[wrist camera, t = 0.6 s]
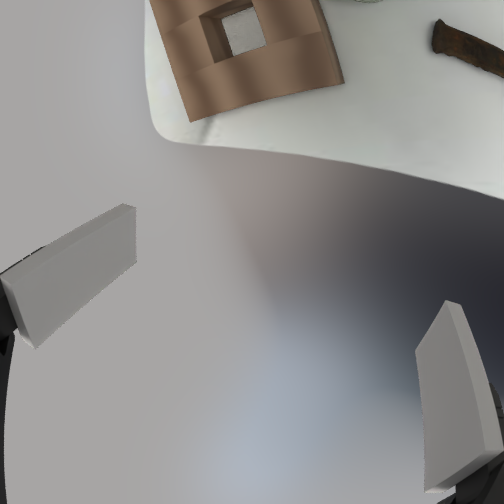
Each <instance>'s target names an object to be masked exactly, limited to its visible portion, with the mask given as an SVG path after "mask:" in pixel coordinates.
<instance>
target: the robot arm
mask: <svg viewBox="0 0 504 504" xmlns="http://www.w3.org/2000/svg"><path fill="white" fill-rule="evenodd" d="M136 262H137V260H136V207H133V206H129V205H126V204H121V205H119V206H117V207H115V208H113V209H111V210H109V211H107V212H105V213H103V214H102V215H100V216H98V217H96V218H94V219H92V220H90V221H89V222H87V223H85V224H83V225H81V226H80V227H78V228H76V229H74V230H72V231H71V232H69V233H67V234H65V235H64V236H62V237H60V238H59V239H57V240H55V241H53V242H52V243H50V244H48V245H47V246H44V247H41V248H39V249H38V250H36V251H35V252H33V253H31V255H28V256H26V257H25V258H23V260H20V261H18V262H17V263H16V264H14V265H12V266H11V267H9V268H8V269H6V270H5V271H3V272H2V273H0V504H7V499H6V489H5V476H4V475H5V474H4V422H5V421H4V420H5V407H6V395H7V386H8V378H9V370H10V364H11V358H12V352H13V347H14V341H15V335H14V333H13V331H14V330H15V329H17V328H18V330H19V332H20V335H21V337H22V339H23V341H25V342H26V343H27V344H28V345H30V346H31V347H32V348H33V349H36V348H38V346H39V345H41V344H42V343H43V342H44V341H45V340H46V339H47V338H48V337H49V336H51V335H52V334H53V333H54V332H55V331H56V330H57V329H58V328H59V327H61V326H62V325H63V324H64V323H65V322H66V321H67V320H68V319H70V318H71V317H72V316H73V315H74V314H75V313H76V312H77V311H79V310H80V309H81V308H82V307H83V306H84V305H85V304H87V303H88V302H89V301H90V300H91V299H93V298H94V297H95V296H96V295H97V294H98V293H100V292H101V291H102V290H103V289H104V288H106V287H107V286H108V285H109V284H110V283H112V282H113V281H114V280H115V279H116V278H118V277H119V276H120V275H121V274H123V273H124V272H125V271H126V270H127V269H129V268H130V267H131V266H133V265H134V264H135V263H136ZM415 353H416V359H417V367H418V374H419V383H420V392H421V403H422V414H423V430H424V454H425V455H424V459H425V480H424V482H425V483H424V493H443V492H445V491H446V490H448V489H450V488H451V487H453V486H455V485H456V493H454V494H453V495H451V496H449V497H447V498H446V499H444V500H442V501H440V502H438V503H437V504H504V414H503V410H502V409H501V408H502V405H501V402H500V398H499V395H498V393H497V391H496V390H495V388H494V386H493V385H492V384H491V383H488V380H487V376H486V373H485V370H484V367H483V364H482V361H481V358H480V354H479V352H478V349H477V346H476V343H475V340H474V338H473V335H472V332H471V330H470V327H469V325H468V322H467V320H466V317H465V315H464V312H463V310H462V308H461V305H459V304H456V303H453V302H450V301H447V300H446V301H445V302H444V304H443V306H442V308H441V310H440V311H439V313H438V315H437V317H436V318H435V320H434V322H433V323H432V325H431V326H430V328H429V330H428V331H427V333H426V335H425V336H424V338H423V339H422V341H421V343H420V344H419V346H418V347H417V349H416V350H415Z"/></svg>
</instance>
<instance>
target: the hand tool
mask: <svg viewBox="0 0 504 504" xmlns="http://www.w3.org/2000/svg"><path fill="white" fill-rule="evenodd" d="M432 48H433V51H434V53H436V54H438V53H445V54H446V55H448V56H455V57H457V58H459V59H461V60H464V61H465V62H467V63H471V64H473V65H474V66H476V67H481V68H482V69H483V70H485V71H489V72H492V73H494V74H496V75H498V76H501V77H503V78H504V51H503V50H501V49H500V48H498V47H496V46H494V45H492V44H490V43H488V42H485V41H483V40H481V39H479V38H477V37H475V36H472V35H470V34H468V33H465V32H463V31H460V30H457V29H455V28H452V27H450V26H448V25H446V24H445V23H444V22H443V21H442V20H441V19H439V20H438V21H437V22H436V24H435V27H434V31H433V37H432Z"/></svg>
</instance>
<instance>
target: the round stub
mask: <svg viewBox="0 0 504 504" xmlns="http://www.w3.org/2000/svg"><path fill="white" fill-rule="evenodd" d="M355 1H359V2H365V3H371V2H378V1H382V0H355Z"/></svg>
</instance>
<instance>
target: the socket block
mask: <svg viewBox="0 0 504 504" xmlns="http://www.w3.org/2000/svg"><path fill="white" fill-rule="evenodd" d="M149 1H150V4H151V7H152V10H153V13H154V16H155V19H156V22H157V25H158V28H159V32H160V35H161V38H162V41H163V44H164V47H165V50H166V53H167V56H168V59H169V62H170V65H171V68H172V71H173V74H174V77H175V80H176V83H177V86H178V89H179V92H180V95H181V98H182V100H183V103H184V106H185V109H186V112H187V115H188V118H189V121H190V122H193V121H196V120H199V119H202V118H205V117H208V116H211V115H215V114H218V113H221V112H224V111H228V110H231V109H234V108H238V107H241V106H245V105H249V104H252V103H256V102H260V101H264V100H268V99H272V98H276V97H280V96H284V95H289V94H293V93H298V92H302V91H307V90H312V89H317V88H323V87H328V86H334V85H339V84H343V83H345V82H344V78H343V75H342V71H341V68H340V64H339V61H338V57H337V54H336V51H335V47H334V44H333V41H332V38H331V35H330V32H329V29H328V26H327V23H326V20H325V17H324V14H323V11H322V9H321V6H320V3H319V1H318V0H149ZM253 6H254V8H255V11H256V14H257V17H258V19H259V22H260V25H261V28H262V31H263V34H264V37H265V40H266V42H267V46H263V47H260V48H257V49H254V50H251V51H248V52H245V53H242V54H239V55H237V56H234V57H233V54H232V51H231V48H230V45H229V42H228V39H227V36H226V33H225V30H224V27H223V25H222V22H221V19H222V18H224V17H227V16H229V15H232V14H234V13H237V12H239V11H242V10H244V9H247V8H250V7H253Z"/></svg>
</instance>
